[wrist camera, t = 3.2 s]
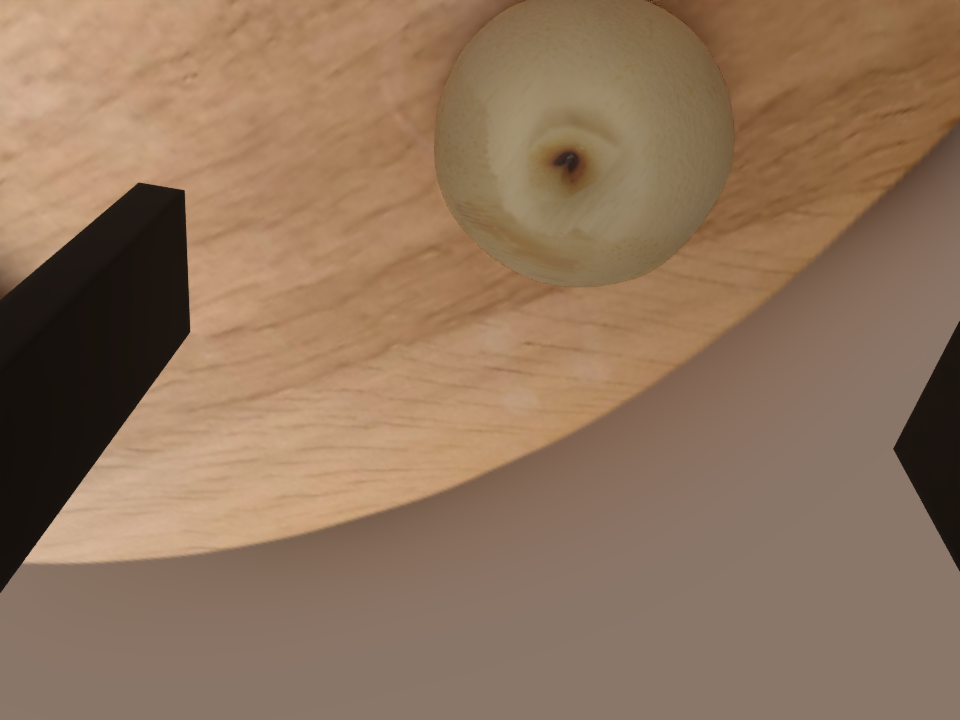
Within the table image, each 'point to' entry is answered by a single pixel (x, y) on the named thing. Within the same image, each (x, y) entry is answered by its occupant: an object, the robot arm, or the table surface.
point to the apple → (583, 139)
